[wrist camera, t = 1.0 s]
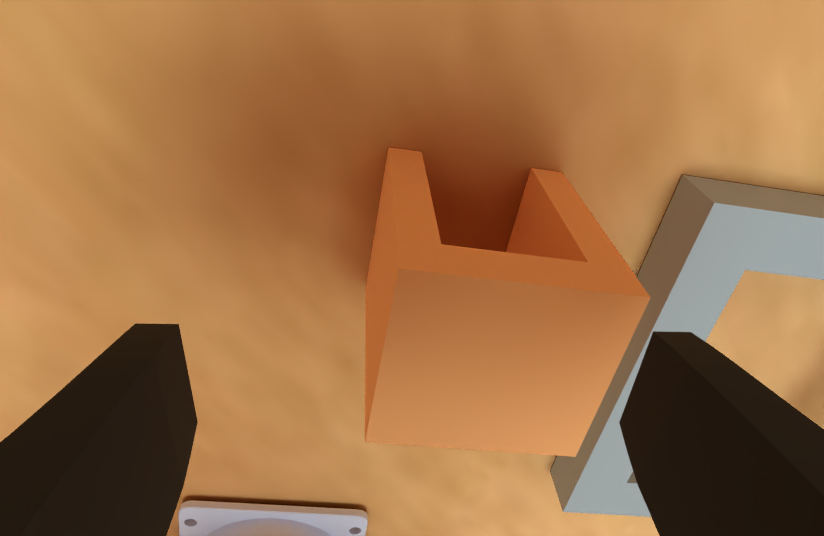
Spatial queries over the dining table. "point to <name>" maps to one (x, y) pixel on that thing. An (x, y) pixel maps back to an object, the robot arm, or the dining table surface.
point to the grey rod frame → (690, 308)
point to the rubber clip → (492, 322)
